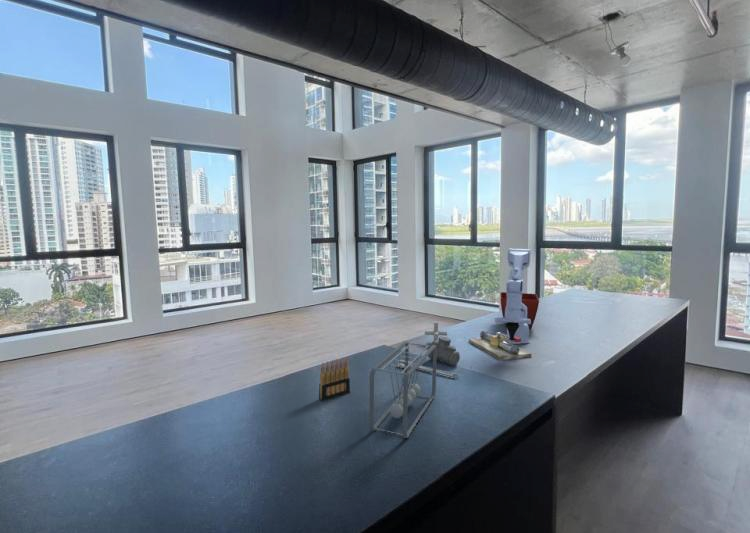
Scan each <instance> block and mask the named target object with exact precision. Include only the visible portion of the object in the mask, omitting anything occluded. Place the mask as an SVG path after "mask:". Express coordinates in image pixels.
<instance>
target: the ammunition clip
mask: <svg viewBox="0 0 750 533" xmlns="http://www.w3.org/2000/svg"><path fill="white" fill-rule="evenodd" d="M349 375H350V370H349V361H348V357H346V356H345V359H344V360H343V358H340V361H339V360H338V359H336V360H335V364H334V361H333V360H332V359H331V361H330V362H329V361H326V364H324V362H322V363H321V366H320V376H319V377H320V378H319V379H320V380H319V388H318V399H319V401H321V402H324V401H327V400H331V399H335V398H338V397H341V396H343V395H348V394H350V393H351V387H350V382H351V381H350V376H349Z"/></svg>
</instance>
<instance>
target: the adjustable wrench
mask: <svg viewBox="0 0 750 533" xmlns="http://www.w3.org/2000/svg"><path fill="white" fill-rule="evenodd" d="M404 360H405V359H400V363H399V362H398V363H397V365H398V366H397V367H398V368H399V367H400V366H401V369H402V368H404V369H405V367H403V366H405V363H404V362H403V361H404ZM409 361H410V362H412V361H411V360H408V365H409ZM413 363H414V364H415V363H416V362H413ZM413 363H412V364H411V365H410V367H411V368H412V367H413ZM418 367H419V370H423V371H428V372H432V373H433V367H429V366H424V365H421V364H420V365H419V366H418ZM418 367H417V369H418ZM404 369H403V370H404ZM408 370H410V369H409V367H408ZM419 370H418V371H419ZM423 371H422V372H423ZM432 373H431V374H432ZM436 373H437V374H442V375H446V376H449V377H453V378H458V377H459V376H460V375H459V374H458V373H455V372H450V371H449V372H448V371H445V370H442V369H437V368H436ZM459 378H460V377H459ZM459 378H458V379H459Z"/></svg>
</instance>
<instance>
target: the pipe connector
mask: <svg viewBox="0 0 750 533" xmlns="http://www.w3.org/2000/svg"><path fill="white" fill-rule="evenodd" d="M424 335H425V336H433V341H435V340H438V338H439V336H444V337H448V332H447V331H443V330H442V331H439V322H437V321H434V322H433V330H425V331H424ZM438 341H439V340H438Z"/></svg>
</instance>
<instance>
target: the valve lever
mask: <svg viewBox="0 0 750 533" xmlns="http://www.w3.org/2000/svg"><path fill="white" fill-rule="evenodd" d="M495 335H500V336H503V337H505V338H509V339H510V336H508V335H507V334H505V333H503V332H500V331H496V332H495ZM513 341H515V342H521V338H518V337H515V336H514V338H513Z"/></svg>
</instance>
